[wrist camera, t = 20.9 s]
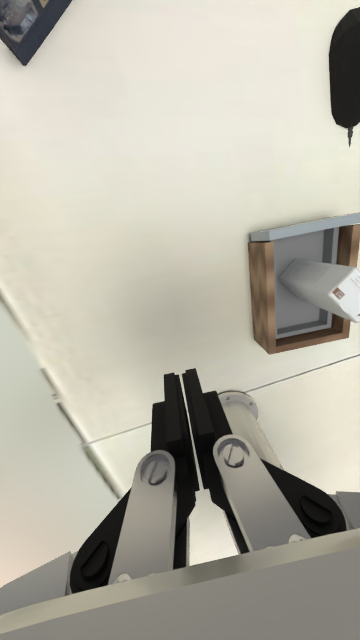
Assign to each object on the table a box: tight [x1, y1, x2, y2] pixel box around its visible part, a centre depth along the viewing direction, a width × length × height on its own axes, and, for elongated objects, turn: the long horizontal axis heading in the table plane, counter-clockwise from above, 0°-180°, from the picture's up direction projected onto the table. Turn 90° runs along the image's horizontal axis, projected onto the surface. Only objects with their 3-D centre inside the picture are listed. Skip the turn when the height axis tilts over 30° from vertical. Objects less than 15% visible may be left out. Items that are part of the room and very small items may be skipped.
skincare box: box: [278, 259, 360, 323], centre depth 30 cm, size 6×4×12 cm
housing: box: [248, 224, 360, 355], centre depth 35 cm, size 18×14×6 cm
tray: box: [251, 213, 360, 339], centre depth 34 cm, size 18×14×6 cm
